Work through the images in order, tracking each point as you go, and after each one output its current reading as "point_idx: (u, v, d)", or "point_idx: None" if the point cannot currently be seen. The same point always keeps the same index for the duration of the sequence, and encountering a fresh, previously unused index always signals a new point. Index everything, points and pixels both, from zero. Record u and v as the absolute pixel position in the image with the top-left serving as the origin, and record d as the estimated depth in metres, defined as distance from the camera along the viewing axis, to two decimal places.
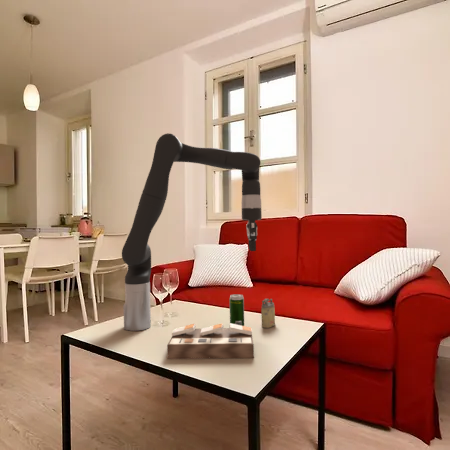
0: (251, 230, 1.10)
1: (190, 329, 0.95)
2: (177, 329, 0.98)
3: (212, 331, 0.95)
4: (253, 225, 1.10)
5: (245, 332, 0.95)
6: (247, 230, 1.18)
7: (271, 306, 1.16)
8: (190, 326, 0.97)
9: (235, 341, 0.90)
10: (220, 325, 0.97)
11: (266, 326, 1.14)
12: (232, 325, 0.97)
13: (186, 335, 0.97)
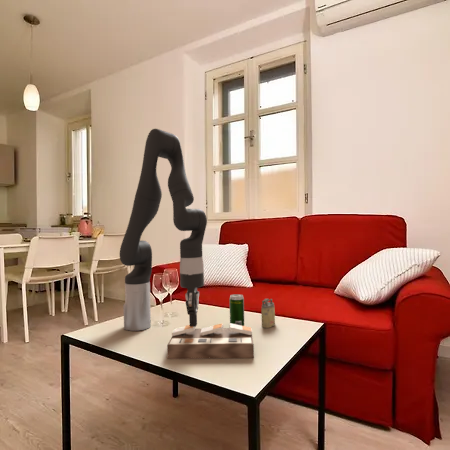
0: (188, 309, 0.93)
1: (190, 329, 0.95)
2: (177, 329, 0.98)
3: (212, 331, 0.95)
4: (190, 305, 0.92)
5: (245, 332, 0.95)
6: None
7: (271, 306, 1.16)
8: None
9: (235, 341, 0.90)
10: (220, 325, 0.97)
11: (266, 326, 1.14)
12: (232, 325, 0.97)
13: (186, 335, 0.97)
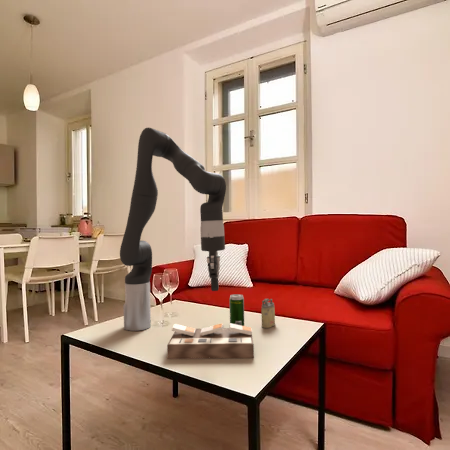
0: (211, 271, 0.92)
1: (190, 333, 0.95)
2: (178, 326, 0.98)
3: (212, 331, 0.95)
4: (212, 267, 0.91)
5: (245, 332, 0.95)
6: None
7: (271, 306, 1.16)
8: (191, 330, 0.97)
9: (235, 341, 0.90)
10: (220, 325, 0.97)
11: (266, 326, 1.14)
12: (232, 325, 0.97)
13: (186, 335, 0.97)
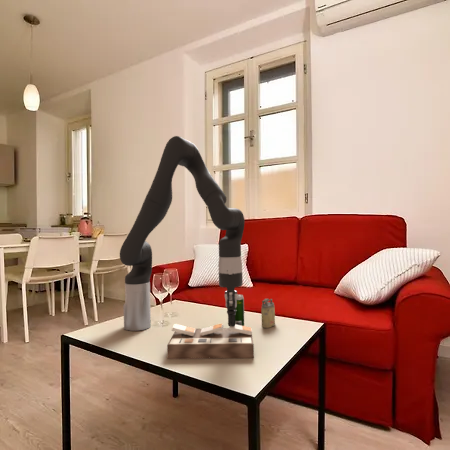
0: (229, 308, 0.92)
1: (190, 333, 0.95)
2: (178, 326, 0.98)
3: (212, 331, 0.95)
4: (231, 304, 0.91)
5: (245, 332, 0.95)
6: None
7: (271, 306, 1.16)
8: (191, 330, 0.97)
9: (235, 341, 0.90)
10: (220, 325, 0.97)
11: (266, 326, 1.14)
12: None
13: (186, 335, 0.97)
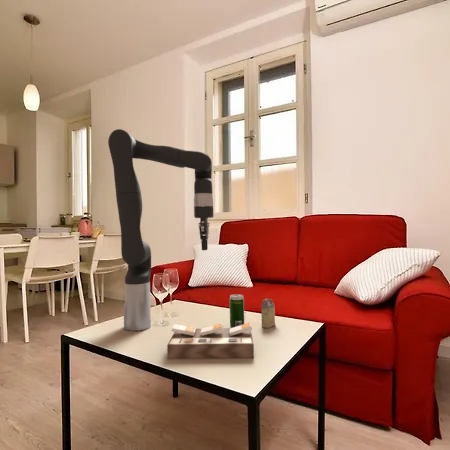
0: (201, 233, 1.15)
1: (190, 333, 0.95)
2: (178, 326, 0.98)
3: (212, 331, 0.95)
4: (203, 229, 1.14)
5: (245, 330, 0.95)
6: None
7: (271, 306, 1.16)
8: (191, 329, 0.97)
9: (235, 341, 0.90)
10: (220, 325, 0.97)
11: (266, 326, 1.14)
12: (231, 329, 0.97)
13: (186, 335, 0.97)
